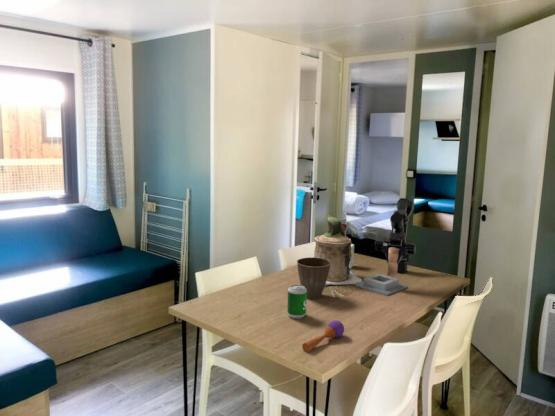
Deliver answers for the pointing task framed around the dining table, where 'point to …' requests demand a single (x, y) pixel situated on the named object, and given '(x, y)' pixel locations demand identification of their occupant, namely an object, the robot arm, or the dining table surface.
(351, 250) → the supplement box
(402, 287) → the socket block
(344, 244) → the cookie jar
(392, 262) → the peg
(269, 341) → the dining table surface
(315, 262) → the plant pot
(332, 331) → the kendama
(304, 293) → the soda can
